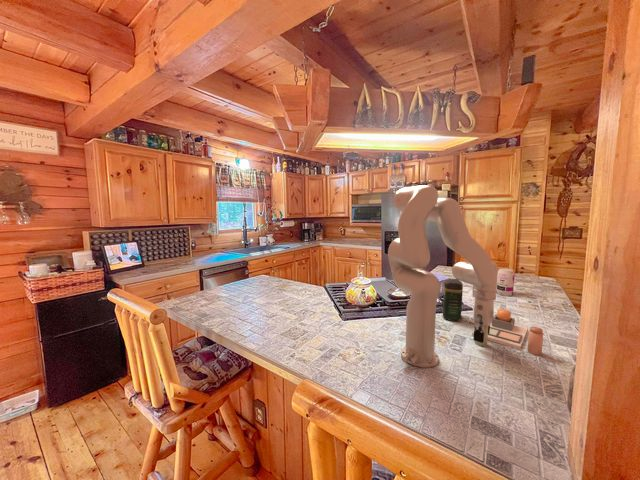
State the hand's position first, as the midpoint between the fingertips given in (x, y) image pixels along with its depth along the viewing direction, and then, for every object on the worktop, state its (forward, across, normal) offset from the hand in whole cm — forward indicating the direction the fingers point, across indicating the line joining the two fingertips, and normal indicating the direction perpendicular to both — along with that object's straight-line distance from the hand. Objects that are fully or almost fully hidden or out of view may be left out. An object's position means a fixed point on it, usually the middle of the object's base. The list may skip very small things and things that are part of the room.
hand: (481, 336), depth 101 cm
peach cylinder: (+3, +6, -16) cm, 17 cm away
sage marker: (+3, 0, 0) cm, 3 cm away
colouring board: (+3, +15, -4) cm, 16 cm away
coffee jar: (+3, +18, +16) cm, 25 cm away
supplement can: (+3, +73, +4) cm, 73 cm away
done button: (-1, +20, -4) cm, 21 cm away
